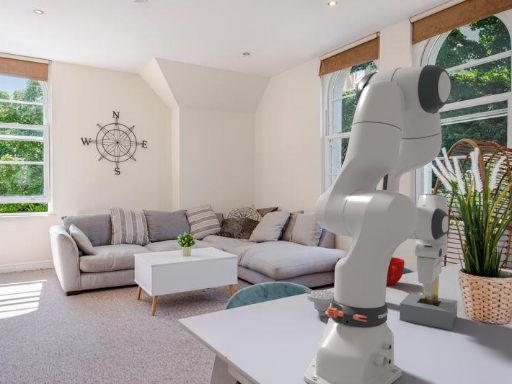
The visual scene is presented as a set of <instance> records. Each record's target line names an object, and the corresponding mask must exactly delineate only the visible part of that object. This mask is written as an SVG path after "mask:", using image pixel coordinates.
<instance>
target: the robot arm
mask: <svg viewBox="0 0 512 384" xmlns="http://www.w3.org/2000/svg"><path fill="white" fill-rule="evenodd" d="M451 88H452V85H451V78H450V75H449V73H448V71H447V70H446V69H445V68H444V67H443V66H442V65H436V64H426V65H424V66H407V67H395V68H390V69H386V70H385V69H384V70H382V71H379V72H378V71H374V72H370V73H369V74H367V75H364V76H363V77H362V78H361V79H360V81H359V82H358V84H357V86H356V90H355V91H356V92H355V96H356V97H355V99H356V103H357V105H356V108H355V110H354V115H353V119H352V124H351V129H350V134H349V139H348V145H347V149H346V153H345V157H344V161H343V164H342V166H341V168H340V170H339V172H338V174H337V176H336V178H335V179H334V180H333V182H332V183H331V185H330V187H329V188H328V189H327V190H325V191H324V192H323V193H321V195H320V196H318V199H317V200H316V202H315V205H314V217H315V220H316V222H317V224H318V225H319V226H320V227H321V228H323V229H324V230H327V231H328V232H330V233H332V234H335V235H338V236H343V237H349V238H352V240H351V245H350V247H349V251H348V253H347V254H346V255H345V256H343V257H341V258H339V260H338V261H337V262H336V264H335V267H334V287H333V289H334V290H333V293H334V297H333V299H332V303H330V307H328V310H327V311H326V315H327V317H329V318H328V321H327V323H326V325H325V328H324V330H323V334H322V336H321V337H320V341H319V343H318V346H317V347H316V348H317V349H316V352H315V355H314V356H313V358H312V360H311V362H310V364H309V365H308V367H307V369H306V370H305V372H304V374H303V380H304V381H305V382H307V384H393V383H394V382H395V381H397V380H398V379H399V378H400V377H402V376H403V372H402V371H403V370H402V369H401V368H400V367H399V366H398V365H396V364H395V335H394V332H393V331H392V329H390V327H389V325H388V324H387V320H388V313H389V308H388V303H387V302H386V298H387V296H386V295H387V285H386V281H387V271H388V266H389V263H390V260H391V258H392V257H394V254H395V252H396V251H397V249H398V248H399V246H401V245H402V244H403V243H404V242H406V241H407V240H408V239H409V240H415V249H414V255H415V257H416V273H417V281H418V283H419V284H421V285H423V284H424V287H425V295H428V296H431V295H432V283H433V282H434V280H435V279H436V277H437V276H440V274H441V273H442V269H443V268H442V265H443V263H442V262H443V258H444V257H443V256H447V255H448V244H449V243H448V242H449V238H448V237H449V236H448V233H449V231H450V216H449V208H448V207H449V206H448V201H447V198H446V196H443V195H440V194H432V193H425V194H422V195H420V196H419V198H418V202H417V205H416V204H415V202H414V200H413V199H412V198H411V197H410V196H408V195H406V194H403V193H399V188H400V181H401V177H402V176H403V175H406V174H408V173H409V172H412V171H415V170H418V169H421V168H423V167H425V166H427V165H429V164H430V163H432V162H433V161H434V160H435V159H436V158H437V157H438V155H439V154H440V152H441V149H442V139H443V137H442V135H443V134H442V123H441V116H440V115H441V114H440V111H439V110H441V109H443V107H445V105H446V104H447V102H448V101H449V99H450V95H451ZM381 180H382V187H381V188H382V189H377V186H378V185H379V183H380V182H381Z"/></svg>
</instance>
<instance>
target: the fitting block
mask: <svg viewBox="0 0 512 384" xmlns="http://www.w3.org/2000/svg"><path fill="white" fill-rule="evenodd" d="M457 317H458V300H454V299H449V298H444V297H438V306H434V305H428V304H422V294H417V293H412V292H410V293H408V294H407V295H406V297H405V298H404V299H403V300H402V301H401V302H400V303H399V321H403V322H407V321H408V322H409V323H413V324H417V325H418V324H419V325H423V326H428V327H434V328H439V329H442V330H448V331H452V330H453V327H454V325H455V324H456V323H455V322H456V320H457Z"/></svg>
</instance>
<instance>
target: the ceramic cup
mask: <svg viewBox="0 0 512 384" xmlns="http://www.w3.org/2000/svg"><path fill="white" fill-rule="evenodd" d="M404 269H405V260H404V259H402V258H398V257H394V256H392V258H391V260H390V263H389V266H388V271H387V281H386V286H394V285H393V284H395V285H396V284H397V283H398V282H399V281H400V280H401V278H402V276H403V275H404Z"/></svg>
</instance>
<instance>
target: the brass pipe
mask: <svg viewBox="0 0 512 384" xmlns="http://www.w3.org/2000/svg"><path fill="white" fill-rule="evenodd" d="M439 278H440V275H438V276H437V277H436V279H435V280H434V282H433V283H432V295H431V296H428V295H425V287H424V284H422V294H421V295H422V304H428V305H434V306H438V298H439V288H440V287H439V285H440V284H439V283H440V282H439V281H440V279H439Z"/></svg>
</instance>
